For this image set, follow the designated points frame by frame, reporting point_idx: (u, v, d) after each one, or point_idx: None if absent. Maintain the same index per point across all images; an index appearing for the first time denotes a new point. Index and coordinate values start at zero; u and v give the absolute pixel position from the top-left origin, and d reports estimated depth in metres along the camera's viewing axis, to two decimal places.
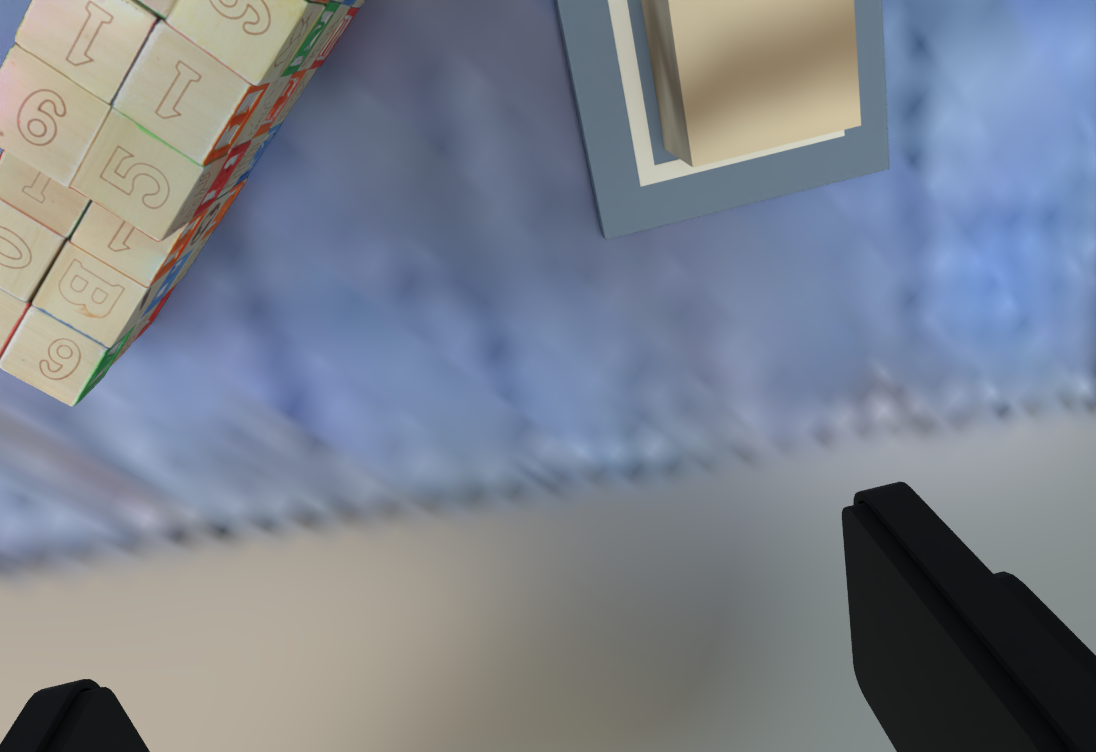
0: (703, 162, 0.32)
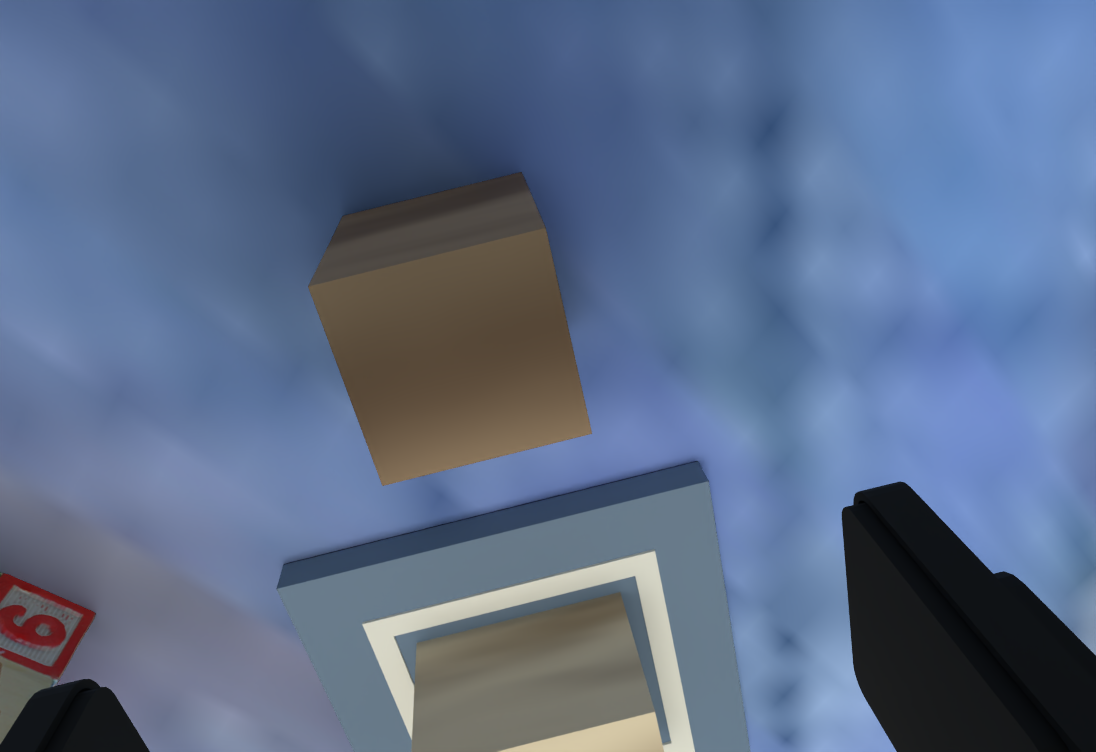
0: None
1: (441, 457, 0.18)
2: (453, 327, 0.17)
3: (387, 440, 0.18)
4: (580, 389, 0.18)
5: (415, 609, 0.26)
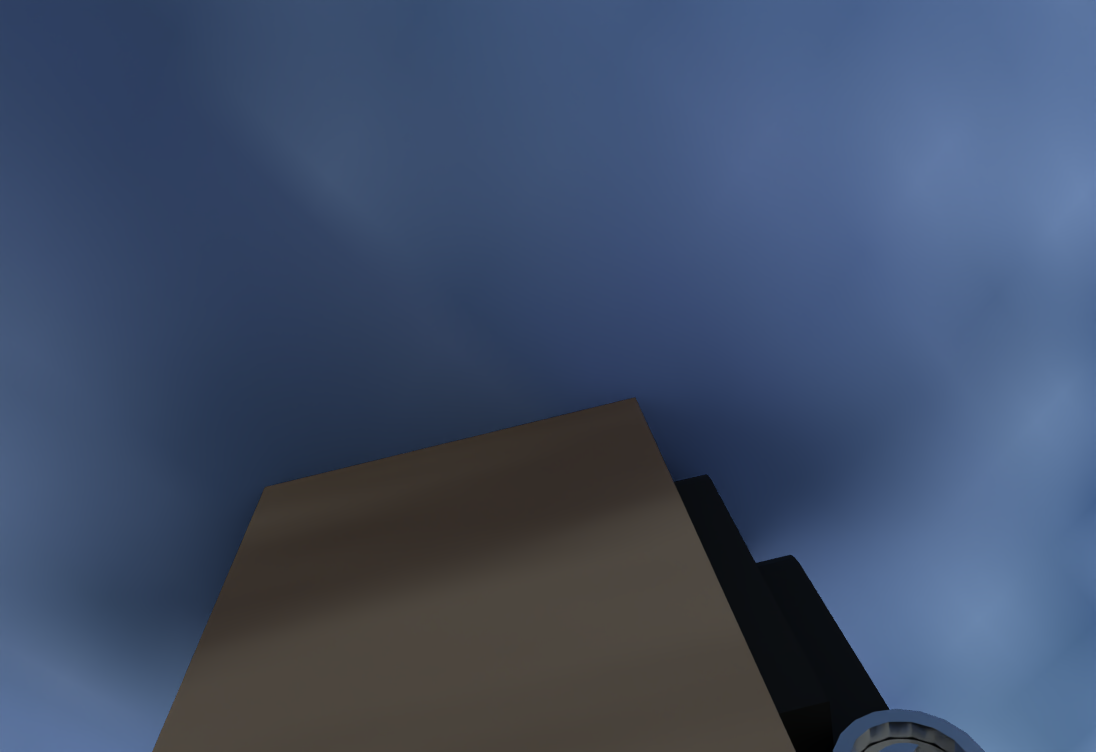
0: None
1: None
2: None
3: None
4: None
5: None
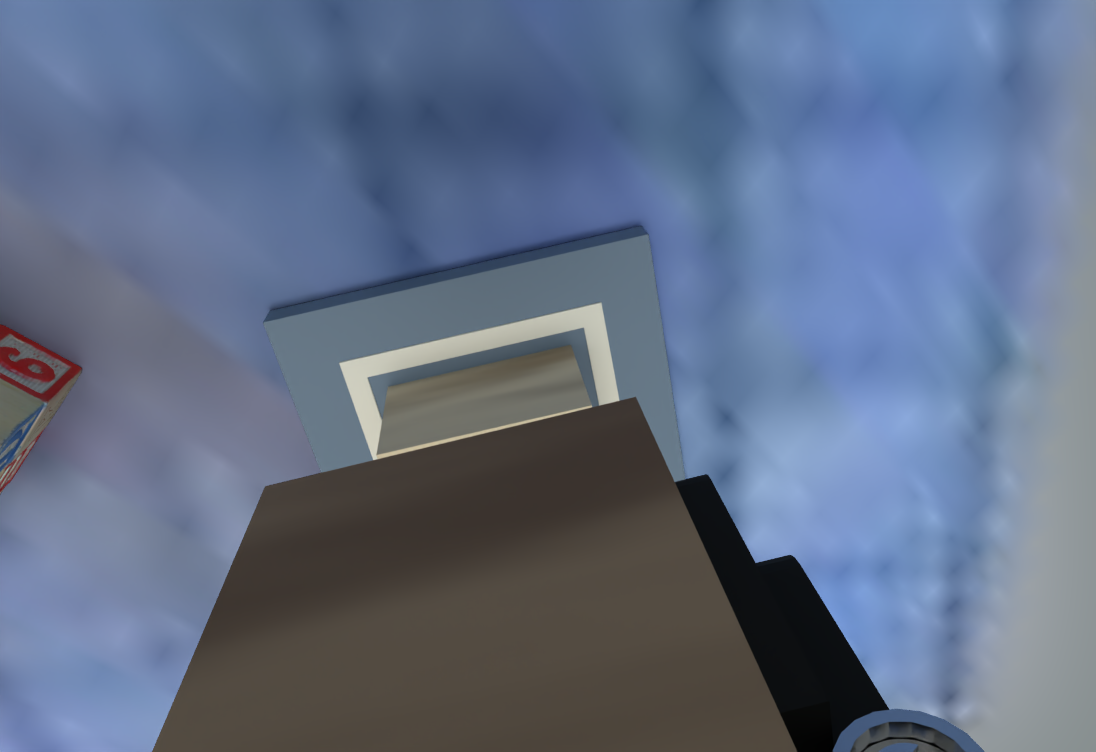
0: None
1: None
2: None
3: None
4: None
5: (386, 351, 0.29)
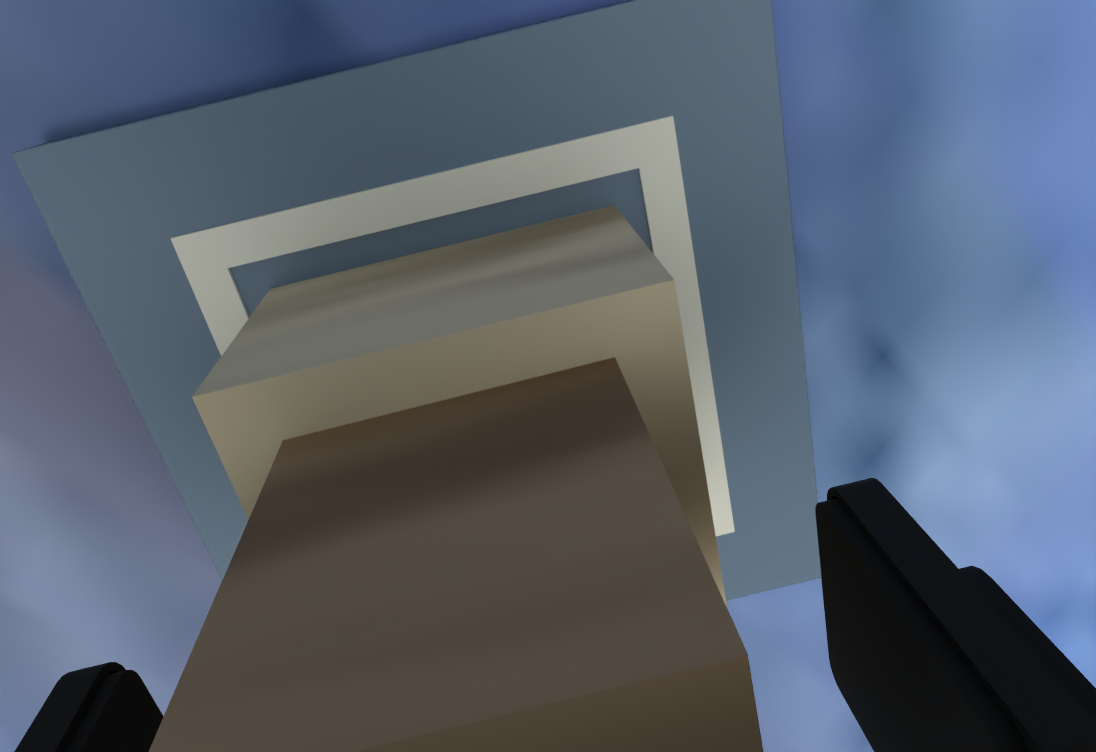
0: None
1: None
2: None
3: None
4: None
5: (262, 217, 0.15)
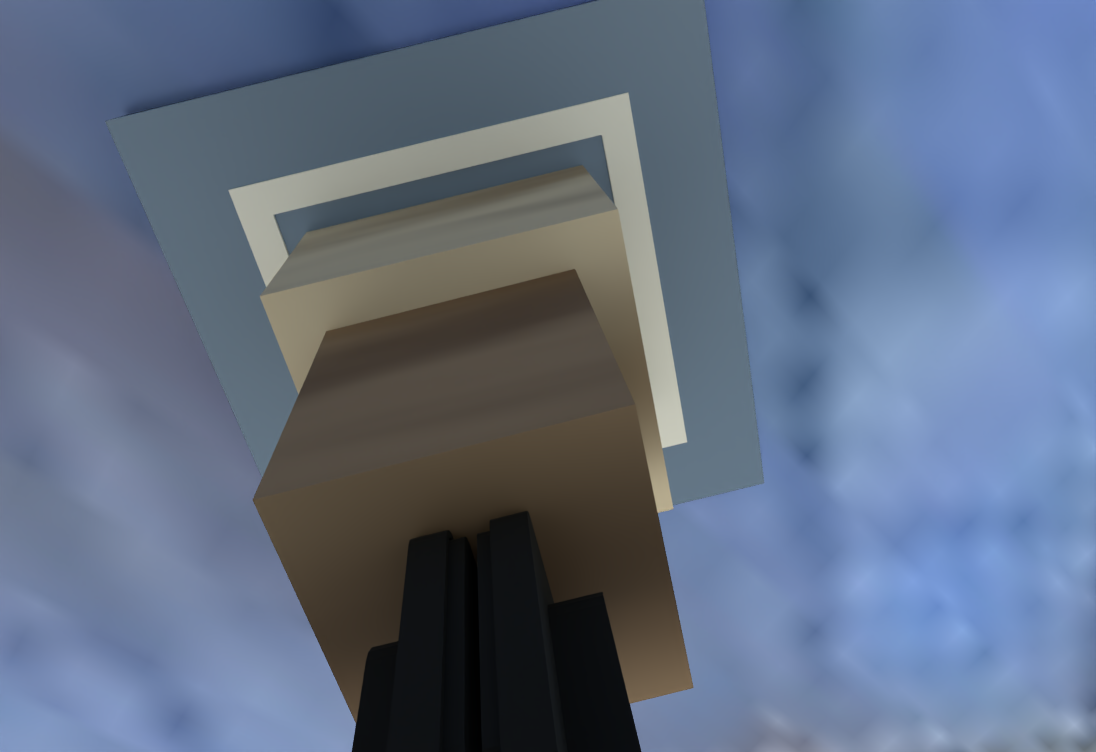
0: None
1: None
2: None
3: None
4: (679, 630, 0.12)
5: (301, 173, 0.19)
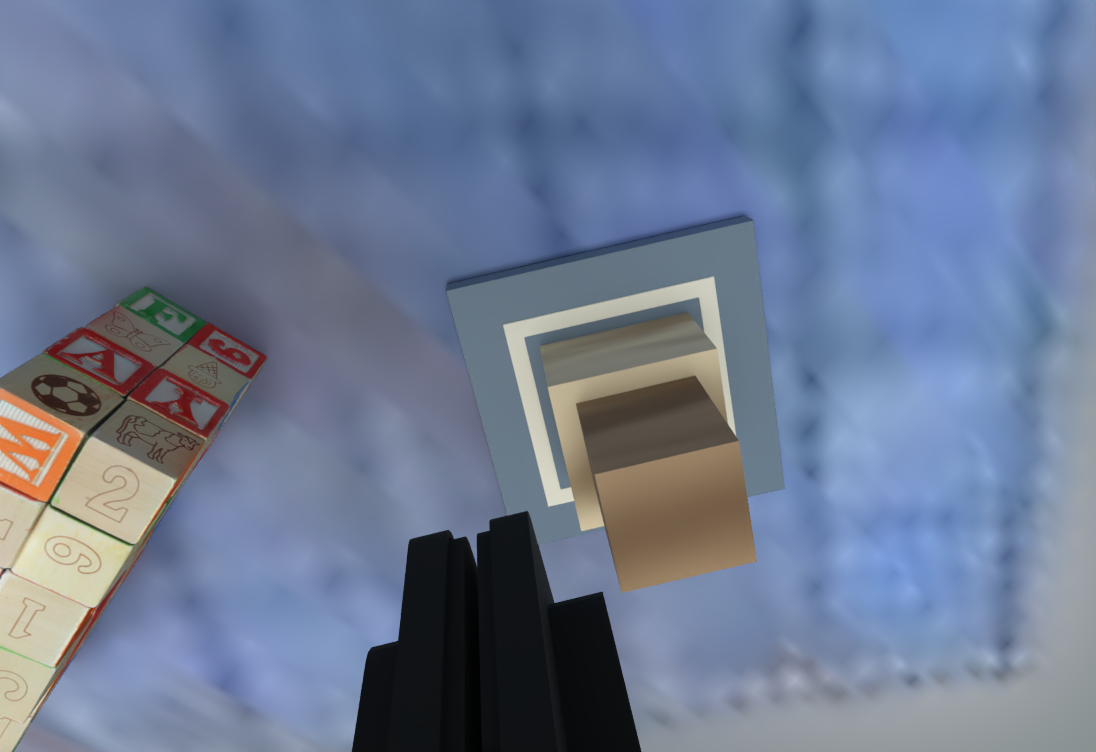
0: (591, 527, 0.35)
1: (660, 575, 0.29)
2: (677, 497, 0.28)
3: (628, 564, 0.29)
4: (751, 534, 0.28)
5: (540, 316, 0.36)
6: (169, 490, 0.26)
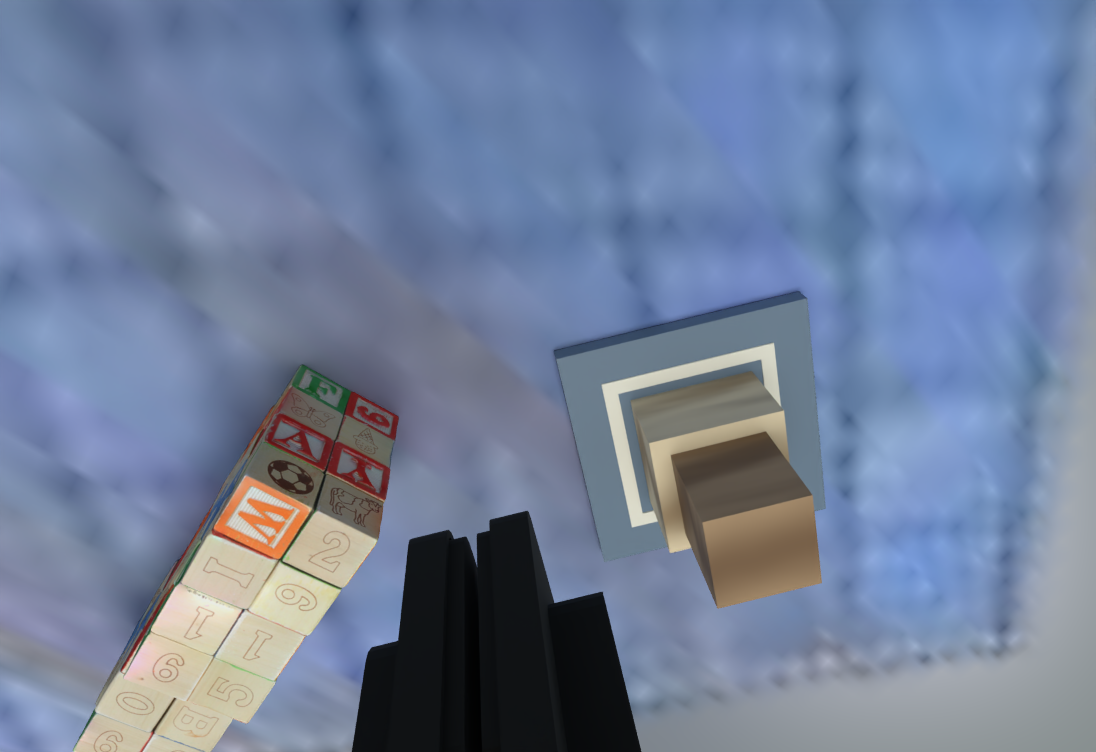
0: (678, 549, 0.43)
1: (748, 595, 0.37)
2: (764, 537, 0.36)
3: (724, 587, 0.37)
4: (819, 563, 0.37)
5: (632, 377, 0.44)
6: (372, 547, 0.34)
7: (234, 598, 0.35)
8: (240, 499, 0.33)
